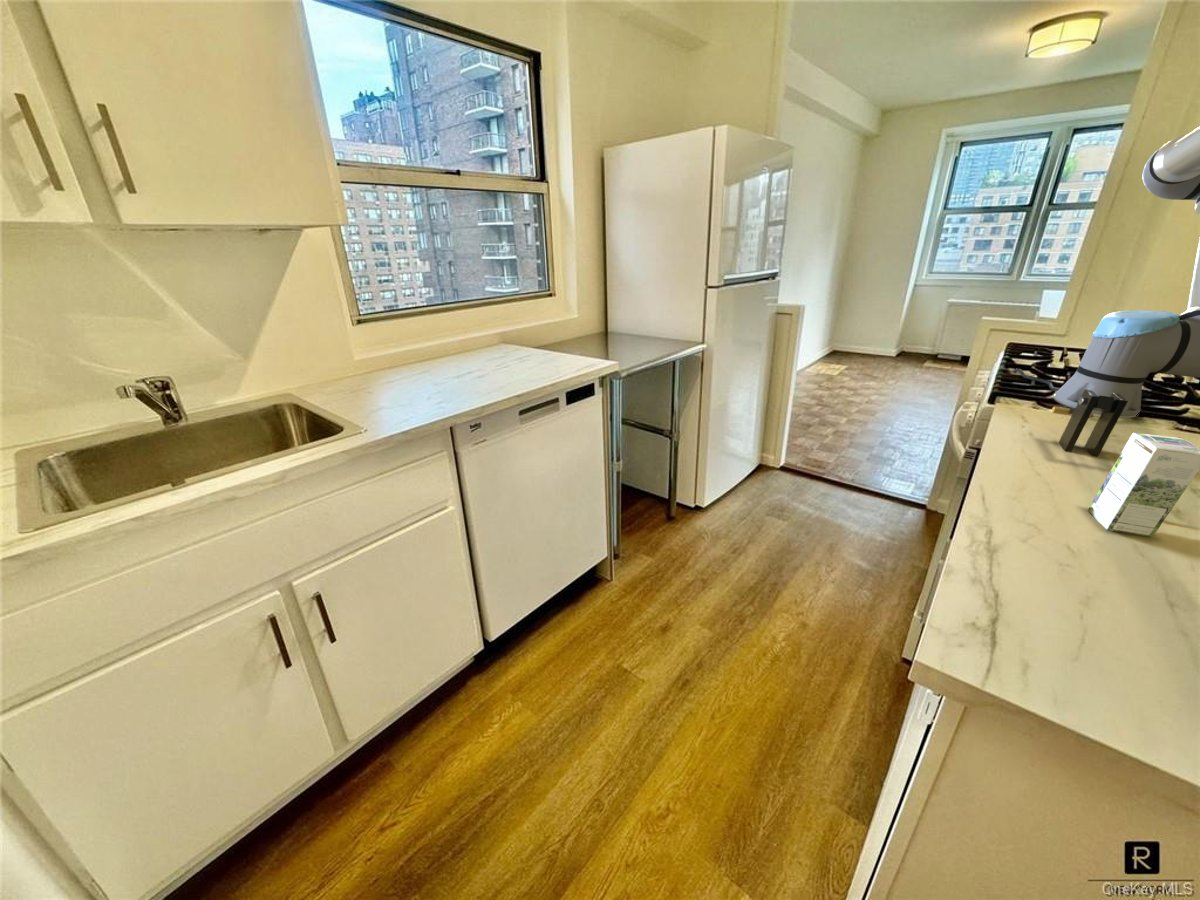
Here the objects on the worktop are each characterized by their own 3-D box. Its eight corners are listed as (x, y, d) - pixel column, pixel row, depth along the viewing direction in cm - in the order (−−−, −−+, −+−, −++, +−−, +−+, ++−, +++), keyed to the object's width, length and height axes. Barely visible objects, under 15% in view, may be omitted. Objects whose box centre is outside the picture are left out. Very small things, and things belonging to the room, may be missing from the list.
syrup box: (1130, 517, 77) (1181, 435, 70) (1154, 539, 72) (1211, 453, 65) (1086, 510, 79) (1131, 430, 72) (1106, 531, 74) (1157, 447, 67)
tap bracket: (1040, 440, 102) (1067, 383, 96) (1095, 450, 98) (1127, 390, 92) (1052, 460, 94) (1083, 399, 88) (1113, 471, 90) (1149, 408, 84)
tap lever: (1050, 415, 104) (1052, 404, 104) (1086, 421, 101) (1089, 409, 101) (1082, 405, 91) (1086, 393, 91) (1125, 411, 88) (1128, 399, 88)
